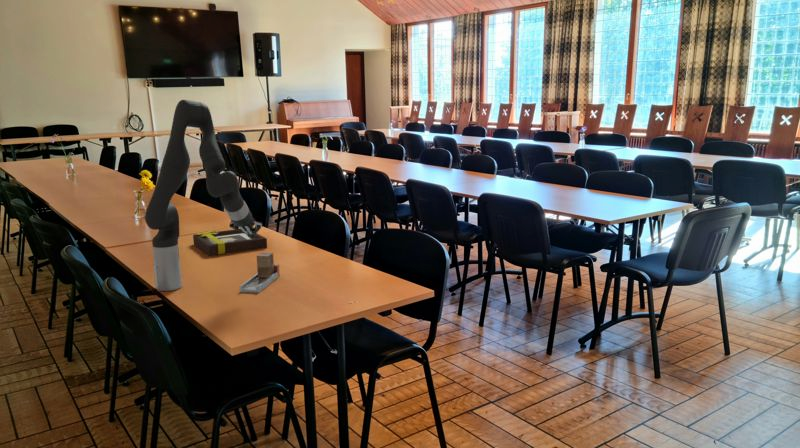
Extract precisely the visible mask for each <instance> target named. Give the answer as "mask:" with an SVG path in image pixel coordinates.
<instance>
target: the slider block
mask: <svg viewBox="0 0 800 448" xmlns="http://www.w3.org/2000/svg"><path fill="white" fill-rule="evenodd" d="M274 264H275V263H274V252H263V251H262V252H260V253H258V254H257V255H256V266H257V267H256V269H257V273H258V277H264V278H268V277H269V276H271V275H272V274H273V273H274Z"/></svg>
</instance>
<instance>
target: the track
mask: <svg viewBox="0 0 800 448" xmlns="http://www.w3.org/2000/svg"><path fill="white" fill-rule="evenodd" d="M280 275H281V274H280V264H279V263H277V264H275V263H274V273H273V274H272V275H271V276H269V277H268V278H264V277H258V272H257V273H256V274H254V275H253V276H251V277H250V278H249V279H247V280H246V281H245V282H243V283H242V284H240V285H239V293H252V294H253V293H254V294H259V293H261V292H262V291H263V290H264V289H266V288H267V287H269V286H270V285H271V284H272V283H273V282H274V281H275V280H277V279H278V278H279V277H280Z"/></svg>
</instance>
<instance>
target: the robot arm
mask: <svg viewBox="0 0 800 448" xmlns="http://www.w3.org/2000/svg"><path fill="white" fill-rule="evenodd" d="M188 127H189V128H190V127H191V128H196V129H199V130H200V132H201V134H202V138H201V141H200V144H199V148H198V149H199V150H198V151H199V152H198V153H199V158H200V160H201V163H202V165H203V167H204V170H205V171H204V172H205V184H206V189H207V192H208V194H209V195H210V196H211V197H213V198H219V199H220V202H221V204H222V206H223V208H224V209H225V212H226V214H227V216H228V217H229V219H230V222H229V226H228V227H229V228H230V229H232V230H234V229H235V230H236V231H238V232H240V233H243V232H244V233H245V234H247V236H248V237H249V238H250V239H254V238H255V236H256V233H257V234H258V232H259V231H260V230H261V228H262V226H263V222H262V221H256V219H255V218H254V217H253V214H252V212H251V210H250V208H249V207H248V205H247V203H246V201H245V200H244V199H243V196H242V195H241V193H240V184H239V179H238V176H237V174H236V173H235V172H233V171H231V170H226V171H224V170H225V168H226V162H225V159H224V157H223V154H222V152H221V149H220V147H219V144H218V141H217V135H216V132H215V127H214V123H213V118H212V114H211V109H210V108H209V106H208V105H207V104H206V103H204V102H201V101H194V100H191V99H190V100H189V99H181V100H179V101H178V102H177V105H176V106H175V110H174V114H173V119H172V124H171V130H170V135H169V139H168V143H167V147H166V150H165V153H164V157H163V159H162V163H161V165H160V171H159V173H158V177H157V180H156V184H155V188H154V190H153V192H152V196H151V197H150V200H149V203H148V205H147V207H146V209H145V215H144V220H145V224H146V226H147V227H148V228H149V229H152V230H155V231H157V230H158V231H157V233H156V234H155V236H153V237H152V238H151V239H152V241H151V243H152V254H153V263H154V264H153V271H154V272H153V273H154V280H155V281H154V282H155V288H156V290H157V292H169V291H175V290H178V289H181V288H182V287H183V281H182V274H181V273H182V271H181V261H180V260H181V259H180V249H179V248H180V247H179V238H180V215H179V211H178V209H177V208H176V206H175V205H174V203H172V202H171V200H172V198H173V196H174V195H175V194H176V192H177V191H178V190H179V189H180V187H181V186H182V184H183V183H184V182H185V180H186V178H187V175H188V171H189V168H190V164H191V158H190V155H189V151H188V149H187V146H186V142H185V138H186V137H185V136H186V131H187V128H188ZM240 229H241V230H240Z"/></svg>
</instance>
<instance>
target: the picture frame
mask: <svg viewBox="0 0 800 448" xmlns="http://www.w3.org/2000/svg"><path fill="white" fill-rule="evenodd" d="M239 229H240V228H239ZM240 230H241V229H240ZM192 236H193V238H192V239H193V245H194V246H195V247H196V248H198V249H199V250H200V251H201V252H202V253H204V254H205V253H206V254H205V255H207V256H208V257H209V256H210V257H215V256H216V257H217V256H222V255H229V254H236V253H237V254H238V253H241V252H248V251H255V250H263V249H267V248H268V239H267V238H266V237H264V236H263V235H260V234H259V233H258V232H257V233H256V236H255V238H254V239H250V238H249V237H248V236H247V234H245V233H244V232H243V233H240V232H238V231H236V230H235V229H227V230H226V229H225V230H219V231H216V230H209V231H206V232H199V233H194V234H193V235H192Z"/></svg>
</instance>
